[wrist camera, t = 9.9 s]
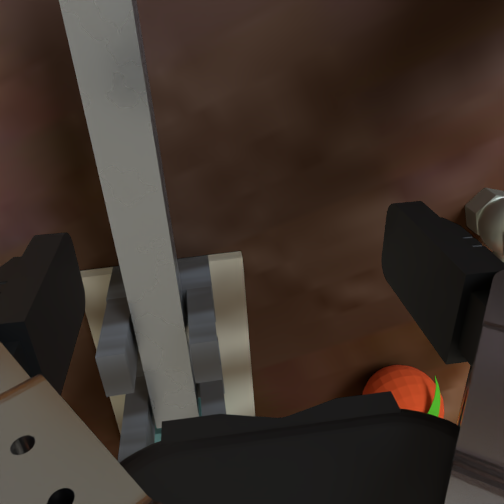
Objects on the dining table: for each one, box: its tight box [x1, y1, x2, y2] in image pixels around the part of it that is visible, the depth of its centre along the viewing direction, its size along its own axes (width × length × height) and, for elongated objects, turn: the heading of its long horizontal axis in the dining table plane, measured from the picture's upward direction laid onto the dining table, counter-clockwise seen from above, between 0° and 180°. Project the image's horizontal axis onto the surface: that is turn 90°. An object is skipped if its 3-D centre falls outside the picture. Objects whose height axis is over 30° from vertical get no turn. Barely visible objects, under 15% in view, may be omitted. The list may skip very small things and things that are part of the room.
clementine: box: [362, 365, 444, 418], centre depth 41 cm, size 8×7×7 cm
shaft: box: [59, 0, 199, 428], centre depth 27 cm, size 30×4×4 cm, turn 4°
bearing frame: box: [80, 251, 255, 463], centre depth 35 cm, size 20×12×12 cm, turn 4°
